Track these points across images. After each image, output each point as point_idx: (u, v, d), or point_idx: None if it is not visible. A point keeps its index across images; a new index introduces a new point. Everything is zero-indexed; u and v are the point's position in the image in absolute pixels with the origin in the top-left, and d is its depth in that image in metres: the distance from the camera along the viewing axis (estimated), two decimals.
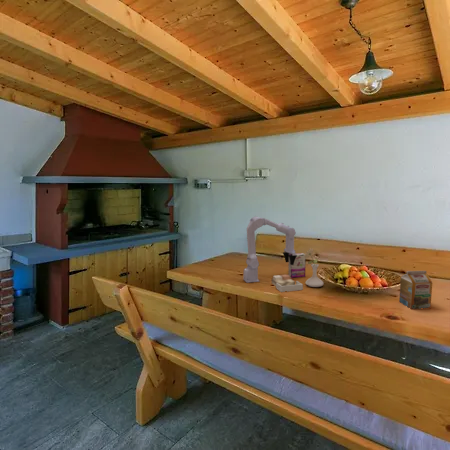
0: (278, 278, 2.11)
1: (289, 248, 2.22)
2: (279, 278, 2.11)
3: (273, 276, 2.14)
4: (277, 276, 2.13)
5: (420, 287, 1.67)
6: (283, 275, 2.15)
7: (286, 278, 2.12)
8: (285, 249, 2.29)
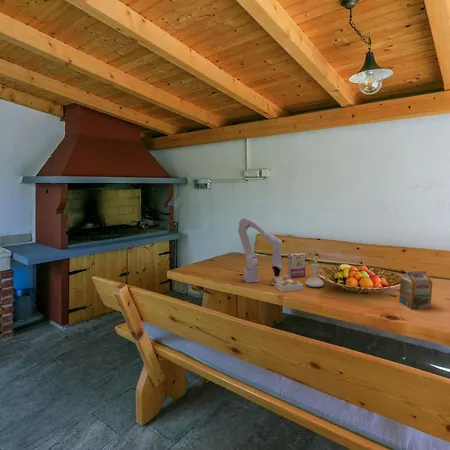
0: (279, 279, 2.09)
1: (276, 261, 2.10)
2: (280, 279, 2.09)
3: (274, 277, 2.13)
4: (278, 277, 2.11)
5: (420, 287, 1.67)
6: (283, 275, 2.15)
7: (286, 278, 2.12)
8: (272, 262, 2.17)
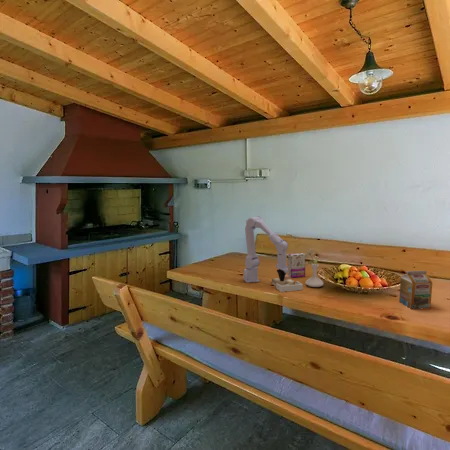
0: None
1: (281, 264, 2.03)
2: None
3: None
4: None
5: (420, 287, 1.67)
6: None
7: (286, 278, 2.12)
8: (277, 265, 2.10)
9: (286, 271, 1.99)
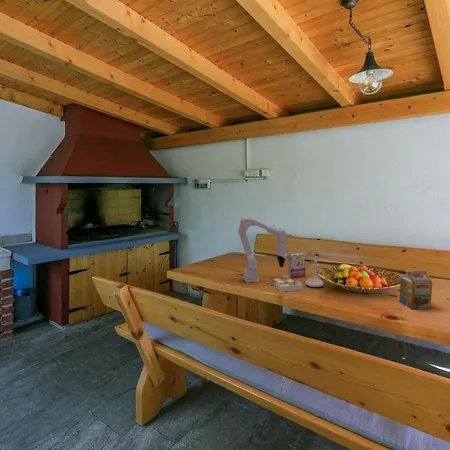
0: None
1: (281, 251, 2.16)
2: None
3: None
4: None
5: (420, 287, 1.67)
6: (283, 275, 2.15)
7: (286, 278, 2.12)
8: (277, 252, 2.23)
9: (285, 257, 2.12)
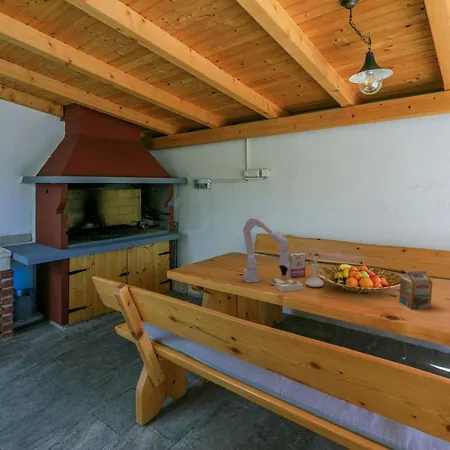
0: None
1: (283, 260, 2.13)
2: None
3: None
4: None
5: (420, 287, 1.67)
6: (283, 275, 2.14)
7: (286, 278, 2.12)
8: (279, 261, 2.20)
9: (288, 267, 2.09)
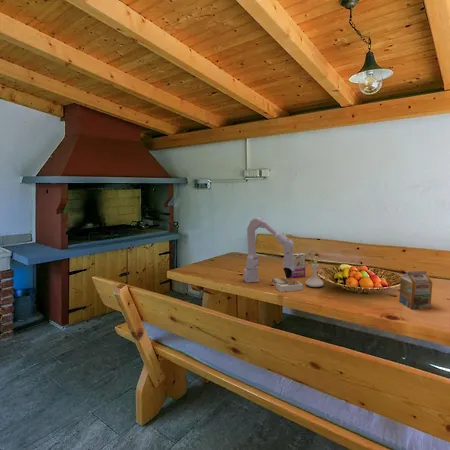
0: None
1: (288, 263, 2.06)
2: None
3: None
4: None
5: (420, 287, 1.67)
6: (288, 278, 2.08)
7: (291, 281, 2.05)
8: (283, 263, 2.13)
9: (293, 269, 2.02)
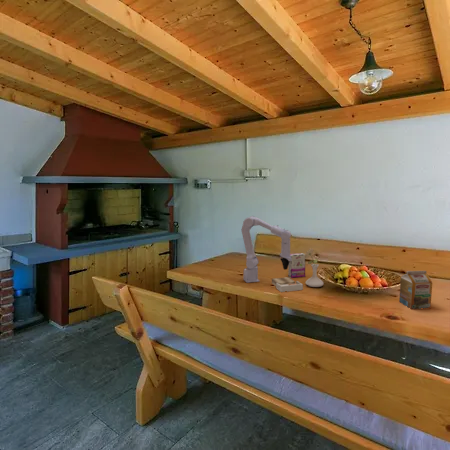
0: None
1: (285, 253, 2.08)
2: None
3: None
4: None
5: (420, 287, 1.67)
6: None
7: None
8: (281, 254, 2.15)
9: (290, 259, 2.04)
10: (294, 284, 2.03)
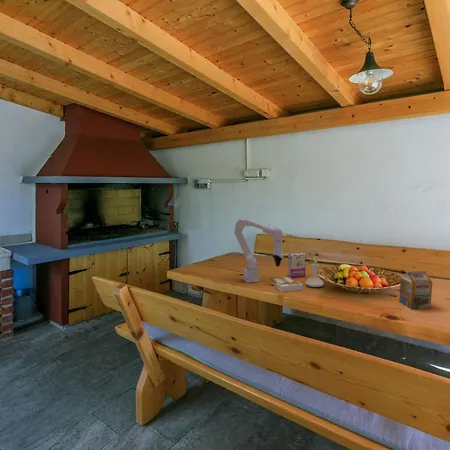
0: None
1: (277, 250, 2.14)
2: None
3: None
4: None
5: (420, 287, 1.67)
6: None
7: None
8: None
9: (282, 256, 2.10)
10: (294, 284, 2.03)
